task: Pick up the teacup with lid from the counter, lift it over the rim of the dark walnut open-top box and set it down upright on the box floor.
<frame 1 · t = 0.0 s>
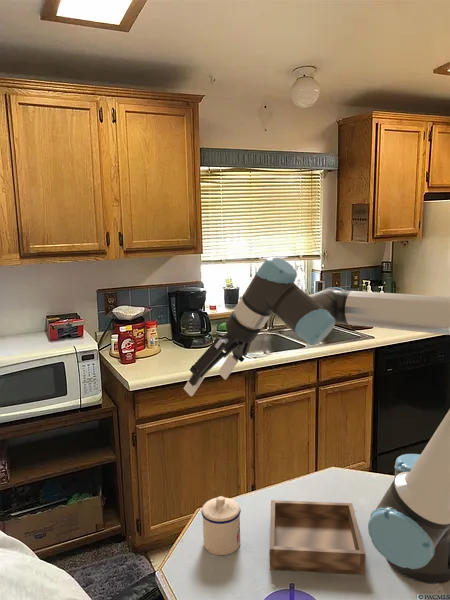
hand: (205, 383, 115), 36 cm above the table, tool tilted 35°, fingers open, 13 cm apart
teacup with lid: (220, 540, 112), on the table
walnut box: (313, 543, 109), on the table
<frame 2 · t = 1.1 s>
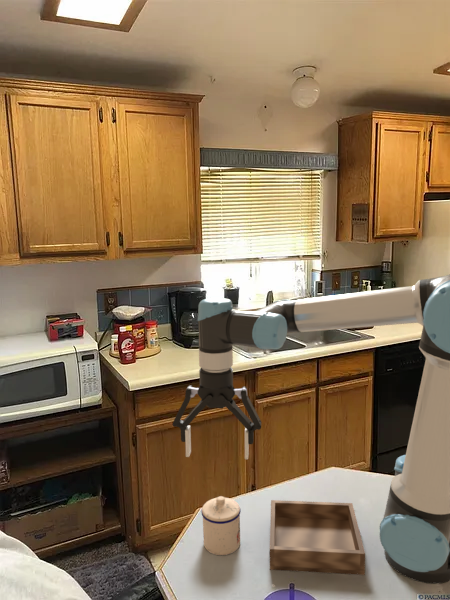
hand: (217, 455, 109), 21 cm above the table, tool pointing down, fingers open, 13 cm apart
nothing on the table moved.
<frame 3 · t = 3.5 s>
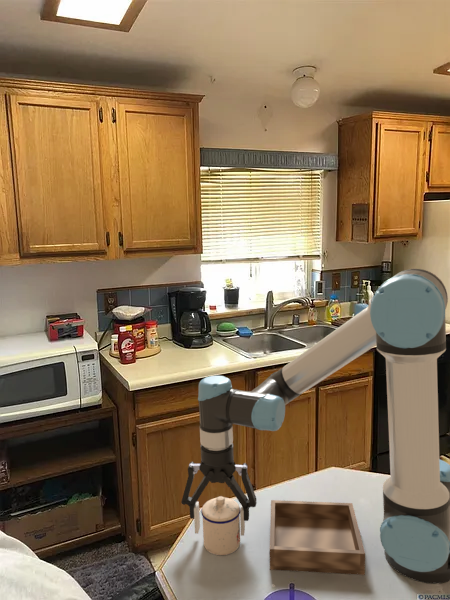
hand: (220, 530, 112), 2 cm above the table, tool pointing down, fingers open, 10 cm apart
teacup with lid: (220, 540, 112), on the table, touching gripper
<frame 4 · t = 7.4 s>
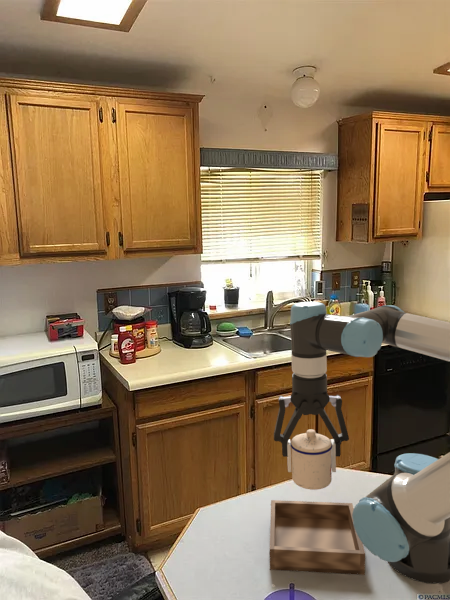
hand: (311, 469, 106), 19 cm above the table, tool pointing down, fingers closed on teacup with lid, 9 cm apart
teacup with lid: (308, 477, 106), point 17 cm above the table, touching gripper
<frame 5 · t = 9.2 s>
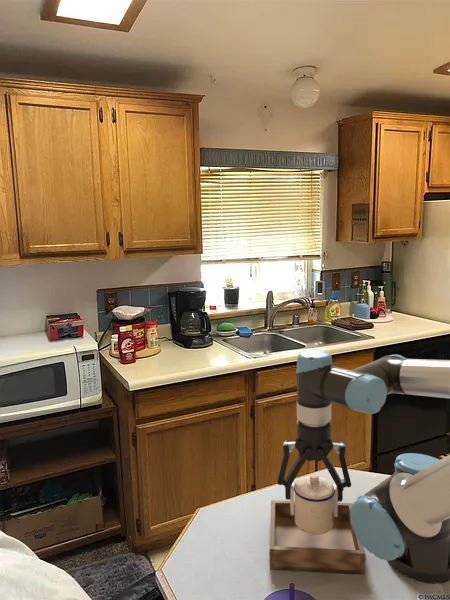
hand: (313, 512, 108), 8 cm above the table, tool pointing down, fingers closed on teacup with lid, 9 cm apart
teacup with lid: (310, 520, 109), point 6 cm above the table, touching gripper
when the fingers open (5 cm above the table, at t = 10.7 s): teacup with lid drops 2 cm, resting on walnut box.
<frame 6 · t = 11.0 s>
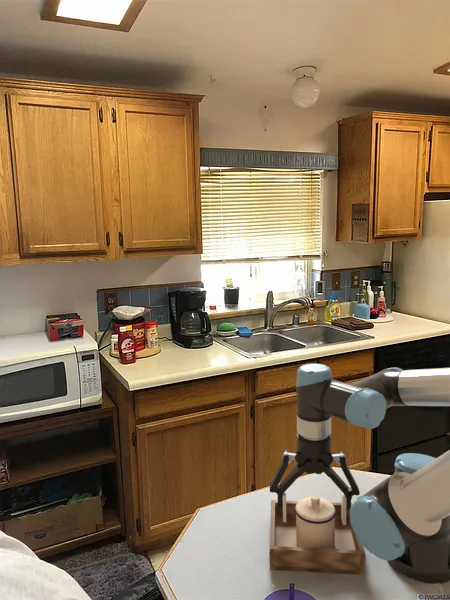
hand: (313, 520, 108), 6 cm above the table, tool pointing down, fingers open, 13 cm apart
teacup with lid: (312, 540, 109), point 1 cm above the table, touching walnut box
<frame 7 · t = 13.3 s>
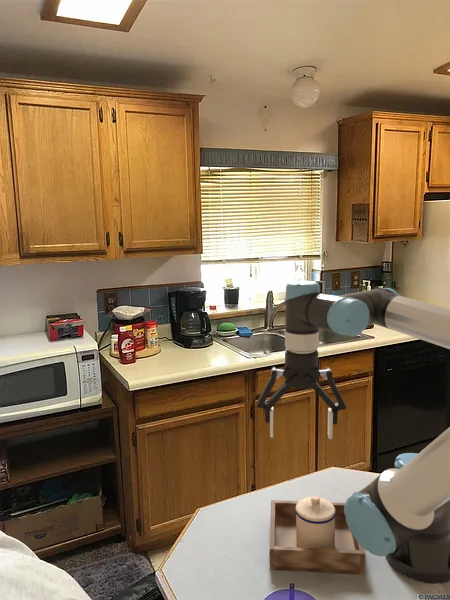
hand: (300, 435, 111), 24 cm above the table, tool pointing down, fingers open, 13 cm apart
nothing on the table moved.
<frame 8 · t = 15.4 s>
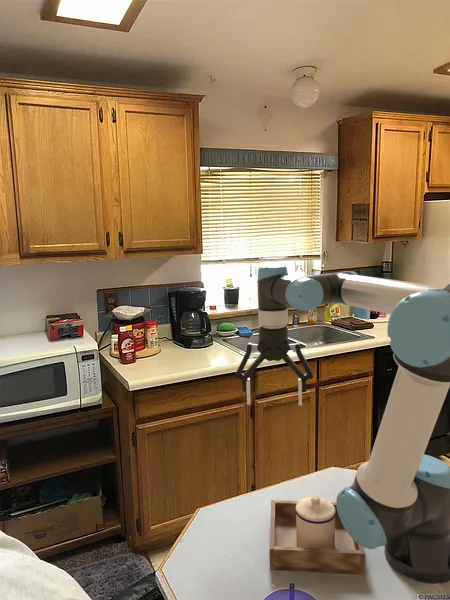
hand: (274, 403, 125), 27 cm above the table, tool pointing down, fingers open, 13 cm apart
nothing on the table moved.
at the end: teacup with lid inside the target area on the walnut box (0.4 cm from its centre), point 0.8 cm above the walnut box's base; teacup with lid tilted 0°; the gripper is holding nothing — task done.
